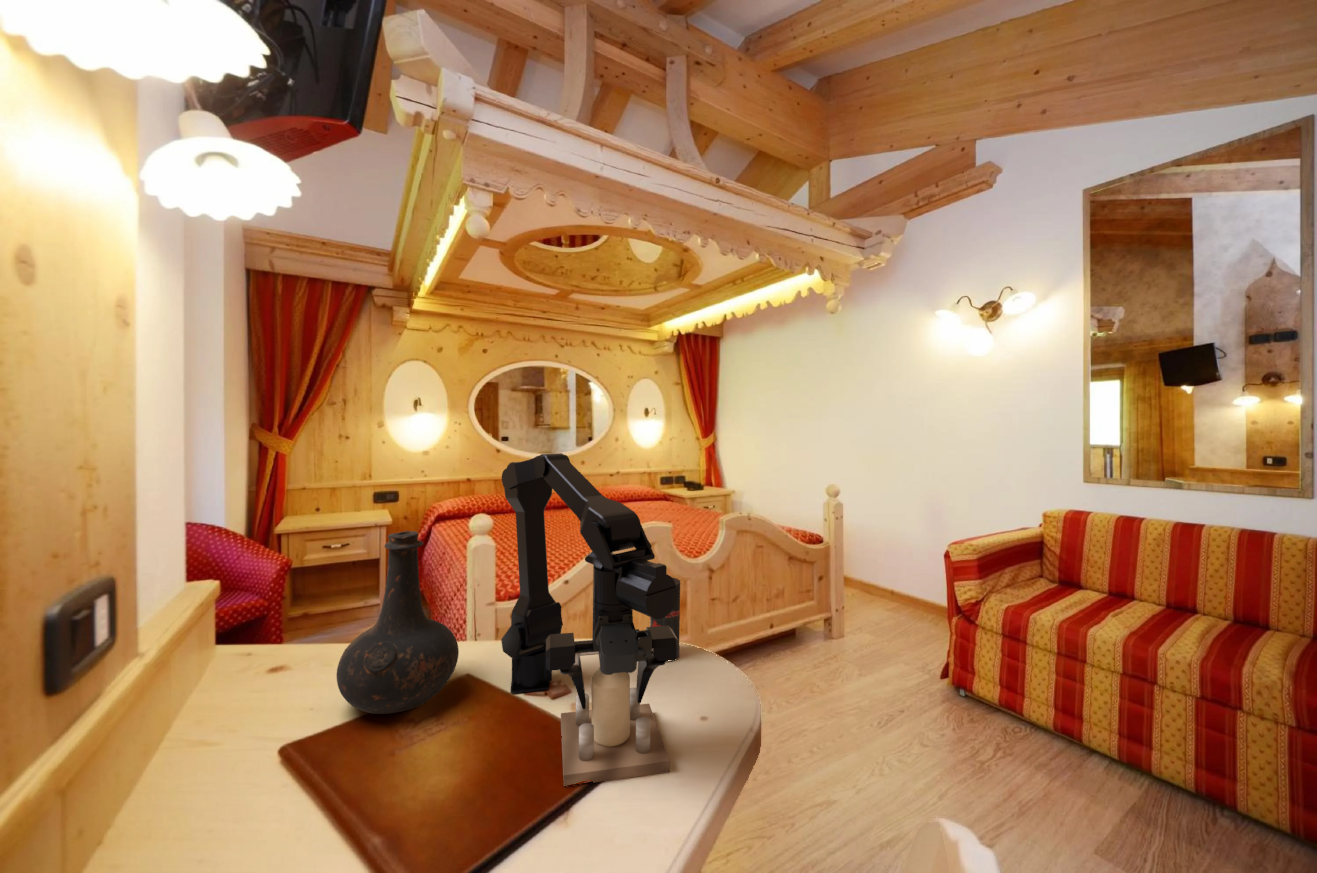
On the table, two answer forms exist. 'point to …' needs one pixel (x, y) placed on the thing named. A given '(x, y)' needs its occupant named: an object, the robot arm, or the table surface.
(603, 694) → the candle
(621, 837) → the table surface
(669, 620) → the deodorant
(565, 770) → the peg holder
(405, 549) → the glass bottle
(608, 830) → the table surface
